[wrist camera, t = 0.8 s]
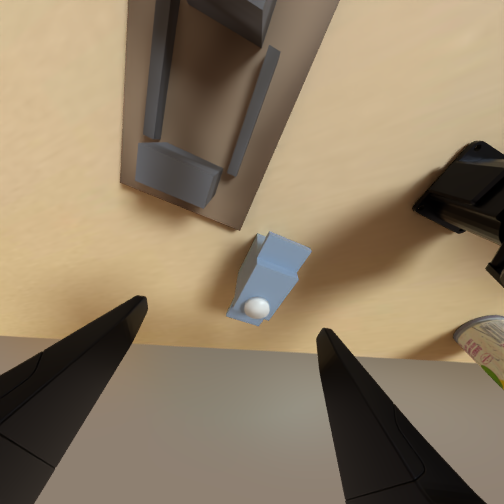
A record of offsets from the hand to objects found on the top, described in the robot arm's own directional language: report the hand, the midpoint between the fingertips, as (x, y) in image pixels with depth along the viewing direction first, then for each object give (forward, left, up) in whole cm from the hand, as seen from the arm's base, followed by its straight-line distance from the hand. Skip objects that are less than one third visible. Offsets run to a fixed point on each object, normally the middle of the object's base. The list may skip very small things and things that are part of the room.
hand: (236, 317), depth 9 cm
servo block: (-3, +4, -12) cm, 13 cm away
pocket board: (+7, -8, -12) cm, 16 cm away
